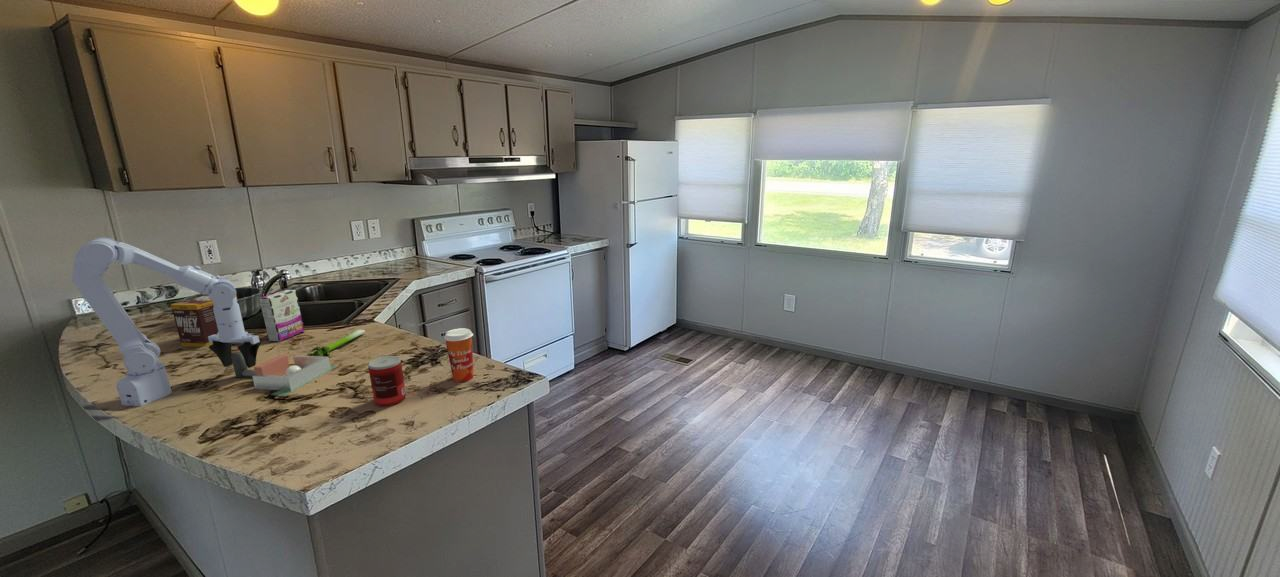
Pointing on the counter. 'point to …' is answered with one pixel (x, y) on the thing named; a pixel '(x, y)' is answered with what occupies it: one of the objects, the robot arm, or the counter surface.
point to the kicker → (260, 366)
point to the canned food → (387, 380)
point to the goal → (294, 374)
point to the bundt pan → (243, 300)
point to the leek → (335, 344)
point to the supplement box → (195, 321)
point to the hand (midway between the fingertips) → (240, 366)
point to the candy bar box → (282, 315)
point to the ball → (292, 370)
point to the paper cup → (460, 353)
